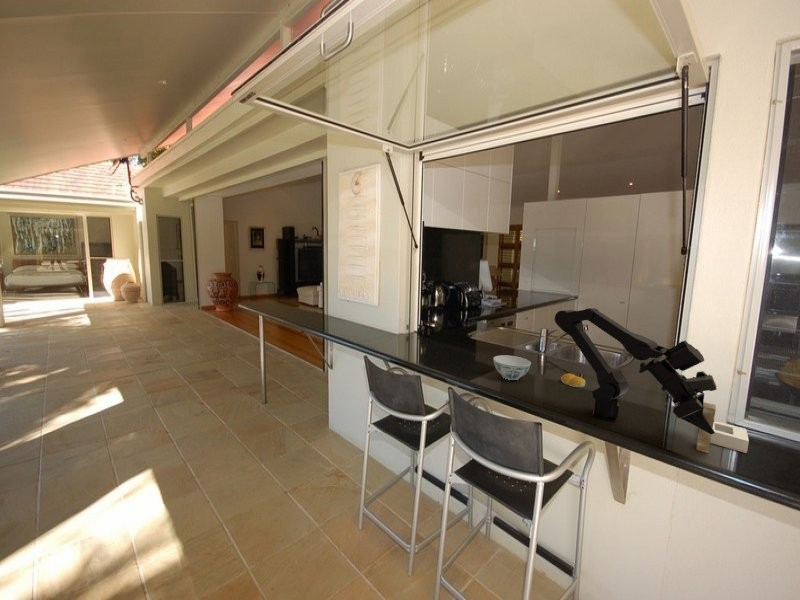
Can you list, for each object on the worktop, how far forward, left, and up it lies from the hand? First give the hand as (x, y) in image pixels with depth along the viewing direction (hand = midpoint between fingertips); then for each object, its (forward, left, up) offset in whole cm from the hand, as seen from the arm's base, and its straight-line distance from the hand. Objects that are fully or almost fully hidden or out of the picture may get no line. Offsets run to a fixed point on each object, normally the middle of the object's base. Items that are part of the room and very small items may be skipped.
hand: (712, 427), depth 97 cm
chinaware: (-60, +25, -7) cm, 66 cm away
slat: (-1, 0, -7) cm, 7 cm away
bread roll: (-37, +35, -7) cm, 52 cm away
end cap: (+5, +10, -7) cm, 13 cm away
